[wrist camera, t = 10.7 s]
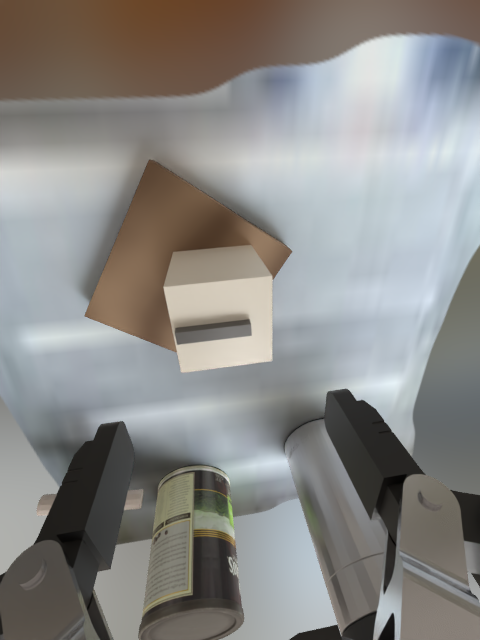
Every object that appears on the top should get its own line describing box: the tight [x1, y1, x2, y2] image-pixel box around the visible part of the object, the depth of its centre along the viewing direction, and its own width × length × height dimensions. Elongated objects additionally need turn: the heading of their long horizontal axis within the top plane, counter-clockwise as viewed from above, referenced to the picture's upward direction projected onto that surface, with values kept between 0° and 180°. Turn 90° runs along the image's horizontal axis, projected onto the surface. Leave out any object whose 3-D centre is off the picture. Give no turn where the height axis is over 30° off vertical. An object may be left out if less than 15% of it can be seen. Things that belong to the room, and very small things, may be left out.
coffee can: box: [138, 465, 244, 640], centre depth 33 cm, size 10×10×14 cm
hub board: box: [85, 160, 292, 352], centre depth 23 cm, size 12×13×2 cm
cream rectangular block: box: [163, 245, 272, 373], centre depth 19 cm, size 6×6×8 cm
